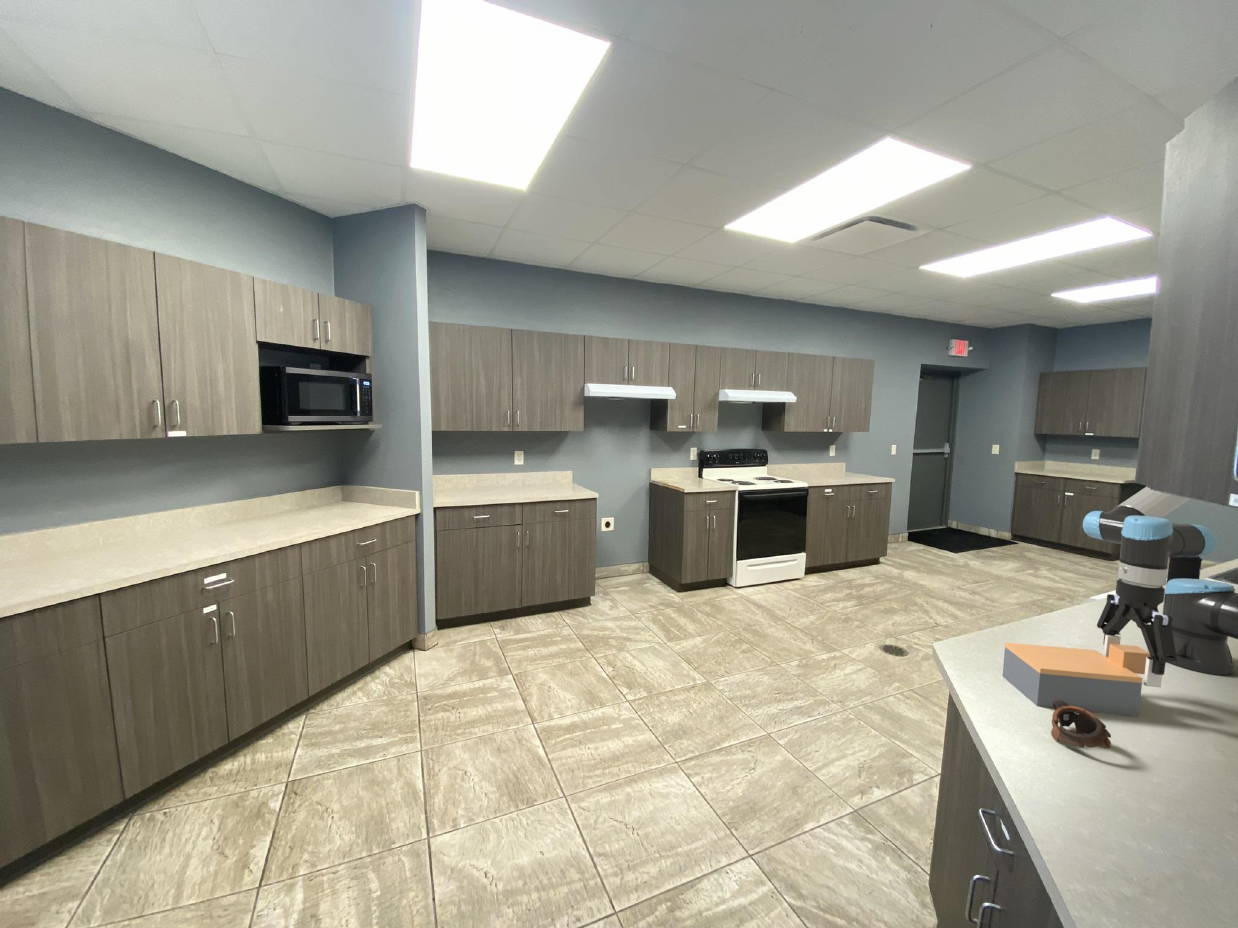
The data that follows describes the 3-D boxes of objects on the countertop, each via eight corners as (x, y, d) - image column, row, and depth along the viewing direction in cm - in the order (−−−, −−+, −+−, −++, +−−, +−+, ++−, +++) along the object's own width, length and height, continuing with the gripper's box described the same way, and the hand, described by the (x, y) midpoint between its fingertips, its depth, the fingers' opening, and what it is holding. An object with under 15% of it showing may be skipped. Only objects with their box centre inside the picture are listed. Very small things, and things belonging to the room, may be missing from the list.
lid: (1117, 659, 117) (1120, 637, 116) (1168, 688, 104) (1171, 663, 103) (1004, 649, 121) (1006, 628, 121) (1039, 676, 108) (1042, 652, 108)
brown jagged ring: (1129, 761, 92) (1122, 732, 90) (1077, 774, 94) (1069, 747, 92) (1076, 710, 103) (1069, 683, 101) (1031, 722, 105) (1023, 697, 103)
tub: (1091, 684, 118) (1094, 654, 117) (1138, 716, 105) (1142, 682, 105) (1002, 676, 122) (1005, 646, 121) (1036, 705, 109) (1040, 673, 108)
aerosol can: (1178, 600, 175) (1185, 548, 174) (1157, 592, 183) (1163, 542, 182) (1204, 602, 174) (1211, 549, 172) (1182, 593, 182) (1188, 544, 180)
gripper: (1082, 566, 120) (1074, 648, 123) (1169, 599, 98) (1156, 699, 100) (1117, 568, 119) (1107, 650, 121) (1212, 602, 97) (1199, 703, 99)
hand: (1130, 672), depth 111 cm, fingers open, 10 cm apart
